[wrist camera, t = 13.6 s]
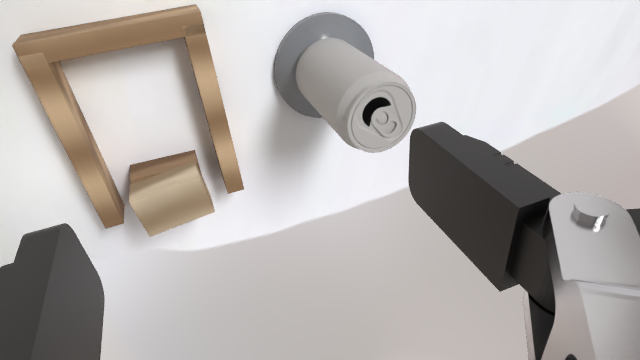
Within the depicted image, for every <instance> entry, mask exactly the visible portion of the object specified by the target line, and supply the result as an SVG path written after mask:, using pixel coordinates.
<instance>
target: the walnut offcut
mask: <svg viewBox="0 0 640 360" xmlns="http://www.w3.org/2000/svg"><path fill="white" fill-rule="evenodd" d="M193 161H195V162H196V164H197V166H198V169H199V171H200V167H199V164H198V160H197V156H196V153H195V150H193V151H189V152H184V153H180V154H176V155H171V156H167V157H163V158H159V159H154V160H150V161H146V162H141V163H137V164H133V165H130V182H131V184H132V183H135V182H138V181H140V180H143V179H146V178H149V177H151V176H154V175H157V174H160V173H163V172H165V171H168V170H171V169H174V168H176V167H179V166H182V165H185V164H187V163H190V162H193ZM200 173H201V171H200ZM201 175H202V174H201Z"/></svg>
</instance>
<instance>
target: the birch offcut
mask: <svg viewBox="0 0 640 360" xmlns="http://www.w3.org/2000/svg"><path fill="white" fill-rule="evenodd" d="M129 204H130V205H131V207H132V209H133V210H134V212H135V213H136V215H137V217H138V218H139V220H140V221H141V223H142V225H143V226H144V228H145V230H146V231H147V233H148V234H149V236H150V237H151V236H153V235H156V234H158V233H161V232H164V231H166V230H169V229H171V228H174V227H177V226H179V225H182V224H184V223H187V222H190V221H192V220H195V219H197V218H200V217H203V216H205V215H208V214H210V213H213V212H215V211H214V207H213V203H212V199H211V195H210V192H209V190H208V188H207V186H206V184H205V182H204V179H203V177H202V175H201V173H200V171H199V169H198V166H197V164H196V162H195V161H193V162H190V163H187V164H185V165H182V166H179V167H176V168H174V169H171V170H168V171H165V172H163V173H160V174H157V175H154V176H151V177H149V178H146V179H143V180H140V181H138V182H135V183H132V184H130V190H129Z"/></svg>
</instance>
